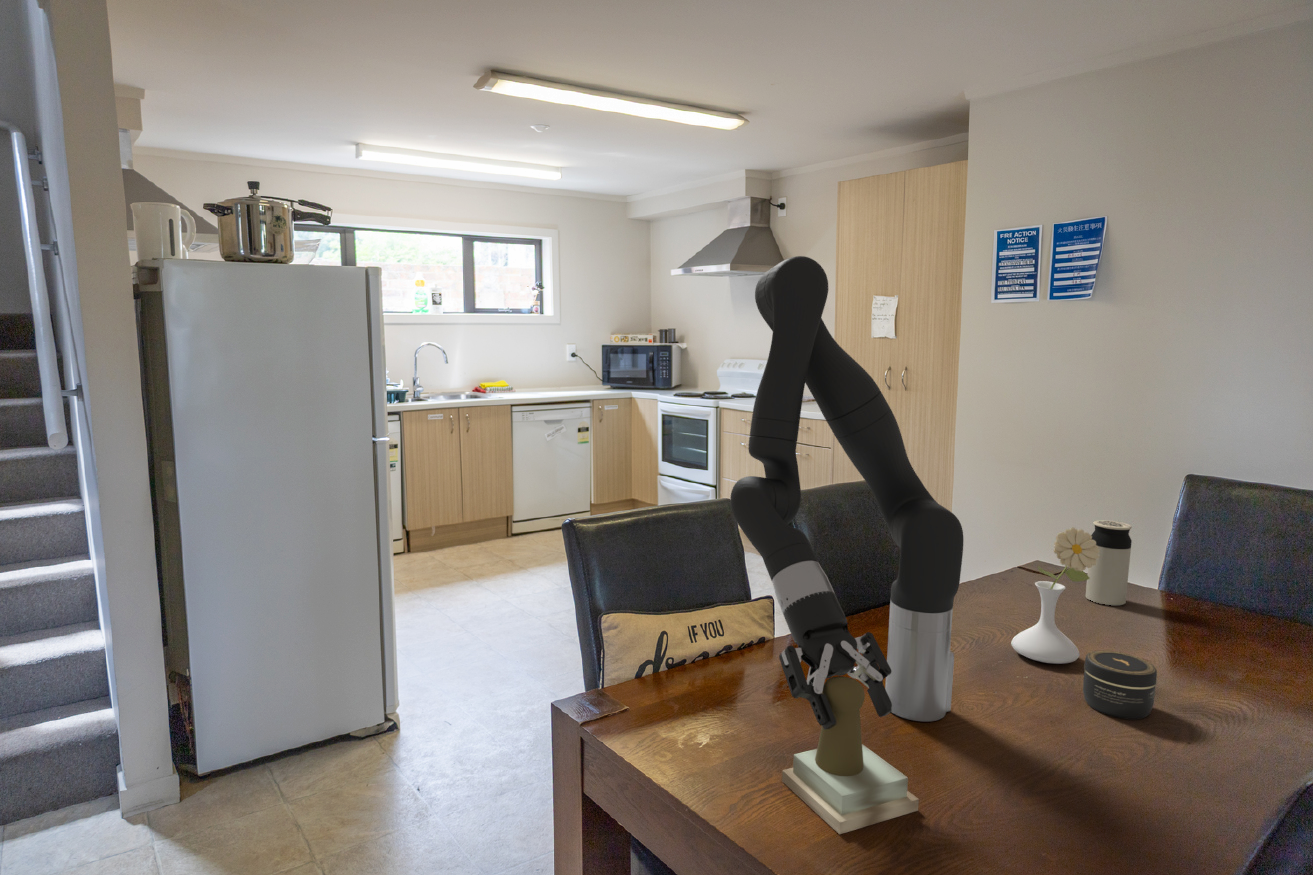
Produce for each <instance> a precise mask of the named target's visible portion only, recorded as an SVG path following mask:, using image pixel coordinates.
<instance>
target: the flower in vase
mask: <svg viewBox="0 0 1313 875" xmlns="http://www.w3.org/2000/svg"><path fill="white" fill-rule="evenodd" d="M1091 535H1092V534H1090V533H1089V532H1088V531H1084V529H1083V528H1080V529H1078V528H1076V527H1070V528H1068V529H1065V530H1064V532H1063V531H1061V532H1059V533H1057V536H1056V537H1055V540H1056V541H1054V546H1053V547H1054V548H1053V553H1054V554H1055V555H1056V558H1057V559H1058V560H1059V563H1060V564H1061V565H1062V566H1063V565H1064V566H1065V567H1064V568H1063V569H1062V572H1061V573H1059V575H1058V576H1056V575H1055V574H1054V573H1052V572H1049V571H1048V570H1047V571H1046V570H1044V569H1043V568H1042V567H1041V566H1040V565H1038V567H1037V568H1038V571H1039V572H1040V573H1042V574H1044V575H1046V576H1049V577H1051V578H1052V579H1055V580H1054V581H1047V580H1045V581H1044V580H1042V581H1041V580H1039V581H1035V582H1034V585H1035V586H1036V588H1037V590H1038V592H1039V595H1040V602H1041V604H1040V606H1041V609H1040V617H1039V620H1038V622H1037V623H1036V624H1034V625H1033V626H1031V627H1029V628H1027V629H1024V630H1022V631H1020V632H1019V633H1018V634H1016V635H1015V636H1014V637H1013V638H1012V639H1011V643H1010V645H1011V647H1012V648H1013V650H1014V651H1015V652H1017V653H1018V654H1019V655H1022V656H1024V657H1026V658H1027V659H1030V660H1033V661H1037V662H1040V663H1046V664H1056V665H1059V664H1069V663H1073V662H1075V661H1077V659H1078V658H1079V657H1080V652H1079V649H1078V647H1077V646H1076V645H1075V644H1074V642H1073V641H1072V640H1071V639H1070V638H1068V636H1066V635H1065V634H1064V633H1063V632H1062V630H1061V629H1059V628H1058V627H1057V625H1056V622H1055V612H1056V606H1057V602H1058V599H1059V597H1060V595H1061V594H1062V592H1064V590H1066V586H1065V585H1064V584H1061V583H1057V582H1058V581H1059V580H1060V578H1062V576H1063V575H1064V574H1066V576H1067V577H1068V578H1069V579H1070V580H1071V581H1072V582H1084V581H1087V580H1088V579H1090V578H1089V577H1088V575H1087V574H1088V573H1086V572H1085V571H1086V570H1087V569H1088V568H1091V567H1092V565H1094V566H1095V565H1096V564H1097V563H1096V561H1097V560H1096V559H1098V558H1099V555H1098V554H1097V553H1099V552H1100V550H1099V547H1098V546H1097V545H1096V541H1095V540H1091V539H1092V536H1091ZM1067 568H1068V569H1067ZM1086 568H1087V569H1086Z"/></svg>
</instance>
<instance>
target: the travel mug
mask: <svg viewBox="0 0 1313 875" xmlns="http://www.w3.org/2000/svg"><path fill="white" fill-rule="evenodd" d="M1093 525H1094V530H1093V532H1092V534H1090V535H1091V536H1092V539H1091V540H1095V541H1096V545H1097V546H1098V547H1099V550H1100V552H1099V553H1097V554H1098V555H1099V558H1098V559H1096V560H1097V561H1096V563H1097V564H1096V565H1095V566H1094V565H1092V567H1091V568H1087V573H1086V574H1087V575H1088V577H1089V578H1090V579H1088V580H1086V586H1085V598H1086V599H1088V600H1089V601H1090V600H1091V601H1090V602H1092V601H1093V602H1092V603H1095V602H1096V603H1095V604H1098V603H1099V604H1100V605H1102V604H1105V605H1104V606H1109V605H1111V606H1110V607H1119V606H1123V605H1125V604H1126V603H1127V591H1128V581H1129V572H1130V561H1131V552H1132V551H1131V550H1132V543H1133V542H1132V541H1133V540H1132V538H1131V536H1130V530H1131V529H1132V525H1131V524H1129V523H1125V522H1121V521H1116V520H1095V521H1093ZM1099 604H1098V605H1099Z"/></svg>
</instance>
